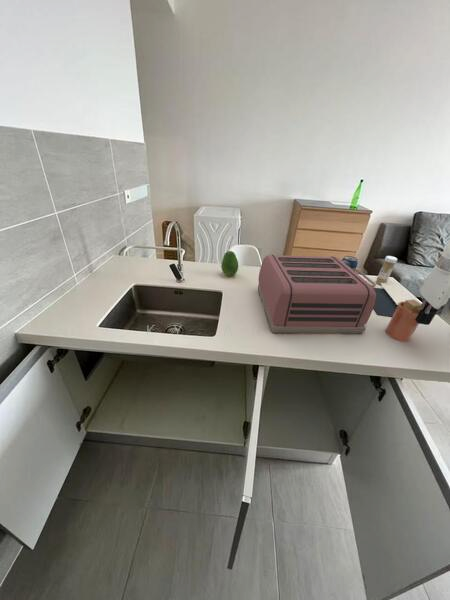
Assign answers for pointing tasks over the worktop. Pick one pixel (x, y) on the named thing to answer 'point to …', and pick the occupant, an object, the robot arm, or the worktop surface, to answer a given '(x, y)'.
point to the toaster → (314, 295)
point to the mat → (384, 303)
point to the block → (412, 306)
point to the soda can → (350, 261)
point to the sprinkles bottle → (386, 269)
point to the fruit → (229, 263)
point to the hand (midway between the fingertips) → (421, 322)
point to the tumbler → (402, 324)
